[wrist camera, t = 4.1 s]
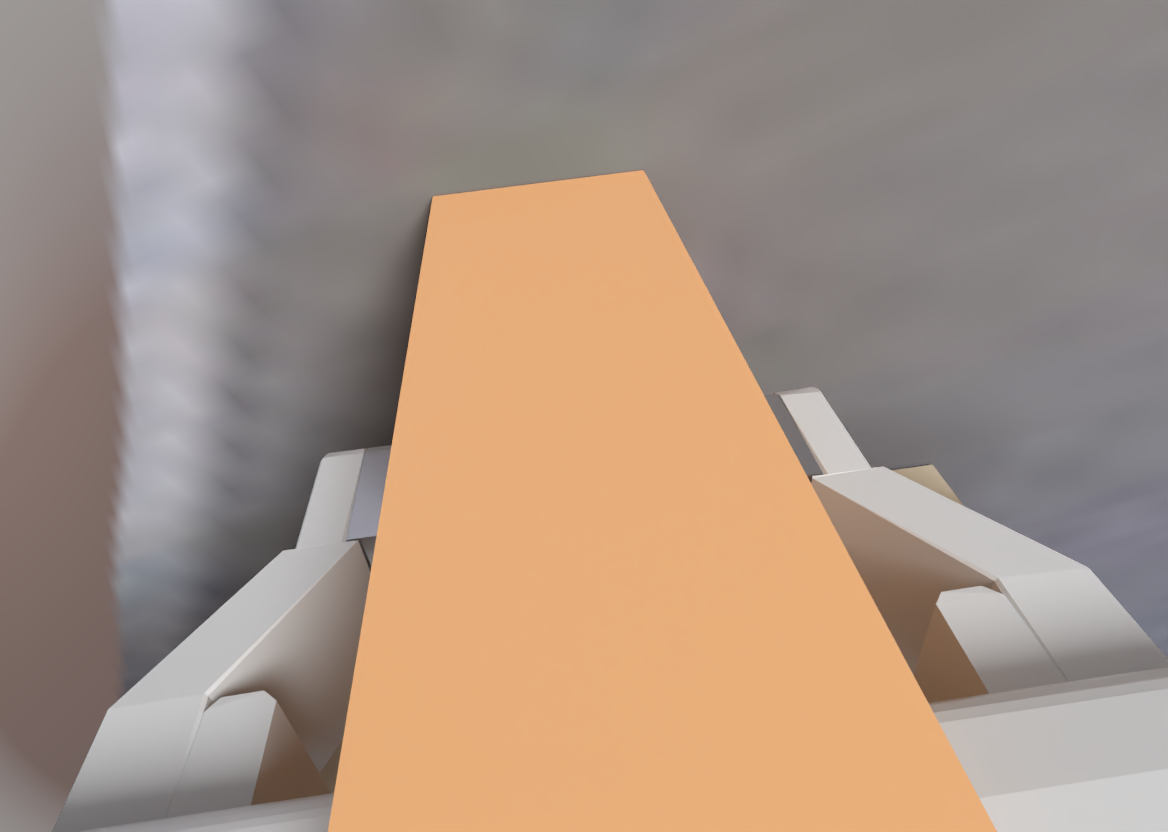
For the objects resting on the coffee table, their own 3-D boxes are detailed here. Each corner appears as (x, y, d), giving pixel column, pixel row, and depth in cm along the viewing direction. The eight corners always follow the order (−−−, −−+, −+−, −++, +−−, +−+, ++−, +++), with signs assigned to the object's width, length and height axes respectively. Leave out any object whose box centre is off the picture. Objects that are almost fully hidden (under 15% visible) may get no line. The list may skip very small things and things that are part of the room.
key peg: (643, 170, 10) (997, 832, 3) (654, 442, 13) (851, 1102, 6) (432, 196, 10) (307, 939, 3) (491, 465, 13) (497, 1162, 6)
